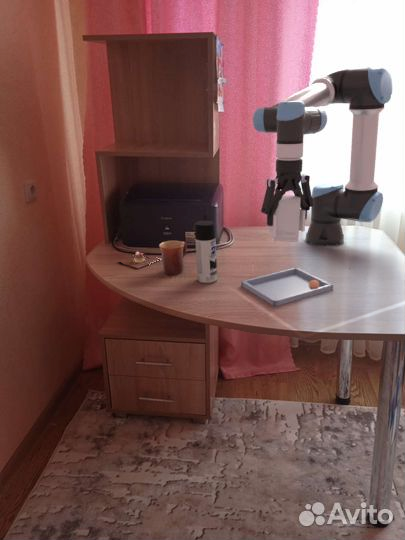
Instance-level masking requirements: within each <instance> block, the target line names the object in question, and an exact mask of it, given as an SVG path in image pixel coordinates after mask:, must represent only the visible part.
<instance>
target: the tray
mask: <svg viewBox="0 0 405 540" xmlns="http://www.w3.org/2000/svg"><path fill="white" fill-rule="evenodd" d="M312 280H316V281H318V282H319V287H318V288H314V289H310V288H309V282H310V281H312ZM240 282H241V283H240V285H241V287H242V288H244V289H245V290H247V291H249V292H250V293H252V294H254V295H255V296H256V297H258V298H260V299H262V300H263V301H264V302H267V303H268V304H269V305H270V306H272V307H278V306H282V305H284V304H288V303H292V302H296V301H298V300H302V299H306V298H310V297H312V296H316V295H319V294H320V295H321V294H323V293H327V292H330V291H333V290H334V284H333V283H330V282H328V281H326V280H324V279H322V278H320V277H318V276H316V275H314V274H311V273H309V272H307V271H305V270H303V269H300V268H299V267H292V268H287V269H283V270H281V271H276V272H273V273H269V274H263V275H260V276H256V277H253V278H249V279H245V280H241V281H240Z"/></svg>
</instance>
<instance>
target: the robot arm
mask: <svg viewBox="0 0 405 540" xmlns="http://www.w3.org/2000/svg"><path fill="white" fill-rule="evenodd" d="M392 94H393V80H392V75H391V73H390V70H389V69H388V68H386V67H385V66H374V65H372V66H363V67H361V66H360V67H345V68H341V69H340V68H339V69H337V70H334V71H332V72H329V73H326V74H324V75H322V76H320V77H319V78H317V79H315V80H313V82H312V83H311V84H310V86H308V87H306V88H304V89H302V90H301V91H298V92H296V93H294V94H292V95H291V96H289V97H287V98H286V99H283V100H281V101H280V102H278V103H276V104H274V105H271V106H270V107H269V106H264V107H258V108H256V109H255V111H254V113H253V116H252V125H253V127H254V129H255V130H256V131H257V132H259V133H265V134H267V133H272V134H273V133H274V134H276V147H275V149H276V154H275V156H276V158H277V159H275V172H276V175H275V178H272V179H270V178H268V179H267V180H266V190H265V194H264V198H263V201H262V205H261V210H260V212H261V214H265V215H266V225H267V226H268V236H270V237H273V238H274V237H276V216H277V215H275V211H276V209H277V207H278V205H279V201H280V200H281V199H282V196H283V195H285V194H286V193H288V192H290V191H292V193H293V195H294V196H298V197H300V222H299V232H302V233H303V232H305V228H306V226H305V225H306V220H307V219H308V211H311V212H310V224H309V227H308V229H307V232H306V233H305V242H306V243H308V244H310V245H313V246H316V247H317V246H318V247H334V246H335V247H336V246H339V245H341V244H343V243H344V240H345V236H344V235H345V234H344V232H343V227H342V224H341V220H348V221H353V222H358V223H372V222H374V221H375V220H376V219H377V217H378V216H379V214H380V211H381V209H382V207H383V203H384V196H383V193H382V192H380V191H378V189H379V185H378V184H377V182H375V170H376V160H377V157H376V156H377V144H378V130H379V119H380V118H379V117H380V113H381V112H382V111H383V110H384V109H385V104H386V103H387V104H388V103H389V102H390V100H391V98H392ZM330 104H348V105H349V107H348V109H349V112H350V113H352V128H351V130H352V132H351V150H350V164H349V165H350V166H349V167H350V169H349V181H348V182H347V183H346V184H345V185H344V184H343V183H340V182H329V183H322V184H318V185H315V186H314V187H313V188H312V192H311V186H310V180H311V179H310V177H311V176H310V175H307V174H301V173H302V172H303V162H304V161H303V159H302V157H303V156H304V136H305V135H310V134H313V135H314V134H317V133H320V132H321V131H323V130H324V129H325V128H326V125H327V124H328V123H327V122H328V115H327V113H326V111H325V110H324V108H322V107H326V106H328V105H330ZM300 185H301V186H300Z"/></svg>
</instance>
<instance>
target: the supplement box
mask: <svg viewBox="0 0 405 540" xmlns="http://www.w3.org/2000/svg"><path fill="white" fill-rule="evenodd" d="M300 209H301V208H300V197H298V196H295V195H294V194H293V195H290V194H289V195H285V194H284V195H283V196H282V199H281V200H280V201H279V205H278V207H277V209H276V211H275V213H274V215H277V216H276V237H273V241H274V242H283V243H284V242H285V243H286V242H287V243H298V242H299V235H300V234H299V233H300V230H299V222H300Z"/></svg>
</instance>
